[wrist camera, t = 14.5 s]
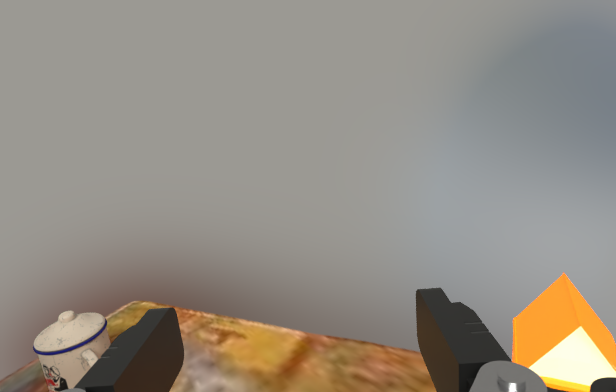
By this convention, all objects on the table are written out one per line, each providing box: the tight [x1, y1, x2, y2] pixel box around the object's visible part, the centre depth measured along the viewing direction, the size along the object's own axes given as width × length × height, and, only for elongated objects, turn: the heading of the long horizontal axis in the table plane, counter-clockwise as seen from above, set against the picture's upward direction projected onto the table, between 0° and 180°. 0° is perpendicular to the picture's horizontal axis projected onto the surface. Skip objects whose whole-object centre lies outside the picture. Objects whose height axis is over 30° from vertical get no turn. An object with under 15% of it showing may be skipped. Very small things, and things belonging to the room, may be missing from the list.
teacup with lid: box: [33, 311, 111, 392], centre depth 53 cm, size 12×9×12 cm
